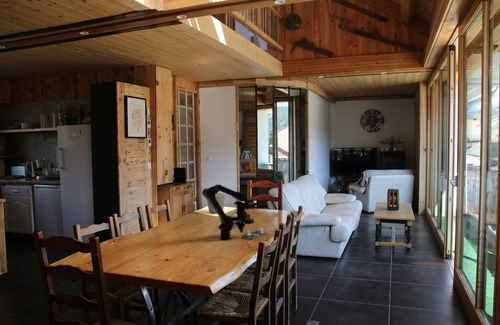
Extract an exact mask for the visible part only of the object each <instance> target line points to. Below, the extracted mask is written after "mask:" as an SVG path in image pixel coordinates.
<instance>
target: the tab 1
mask: <svg viewBox="0 0 500 325" xmlns="http://www.w3.org/2000/svg"><path fill="white" fill-rule="evenodd" d="M244 232H245V233H244V234H245V235H248V236H251V230H245V231H244Z"/></svg>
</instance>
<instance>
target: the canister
mask: <svg viewBox="0 0 500 325" xmlns="http://www.w3.org/2000/svg"><path fill="white" fill-rule="evenodd" d="M215 197H216V200H217V202H218V203H219V205H220V206H221V208H222V209H223V210H224V207H225V197H226V194H225V193H222V192H218V193H216V194H215ZM206 201H207V208H208V212H209V213H210V214H215V215H216V214H217V212H216V211H215V209H214V208H213V206H212V204H211V203H210V202H209V201H208V200H207V199H206Z"/></svg>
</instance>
